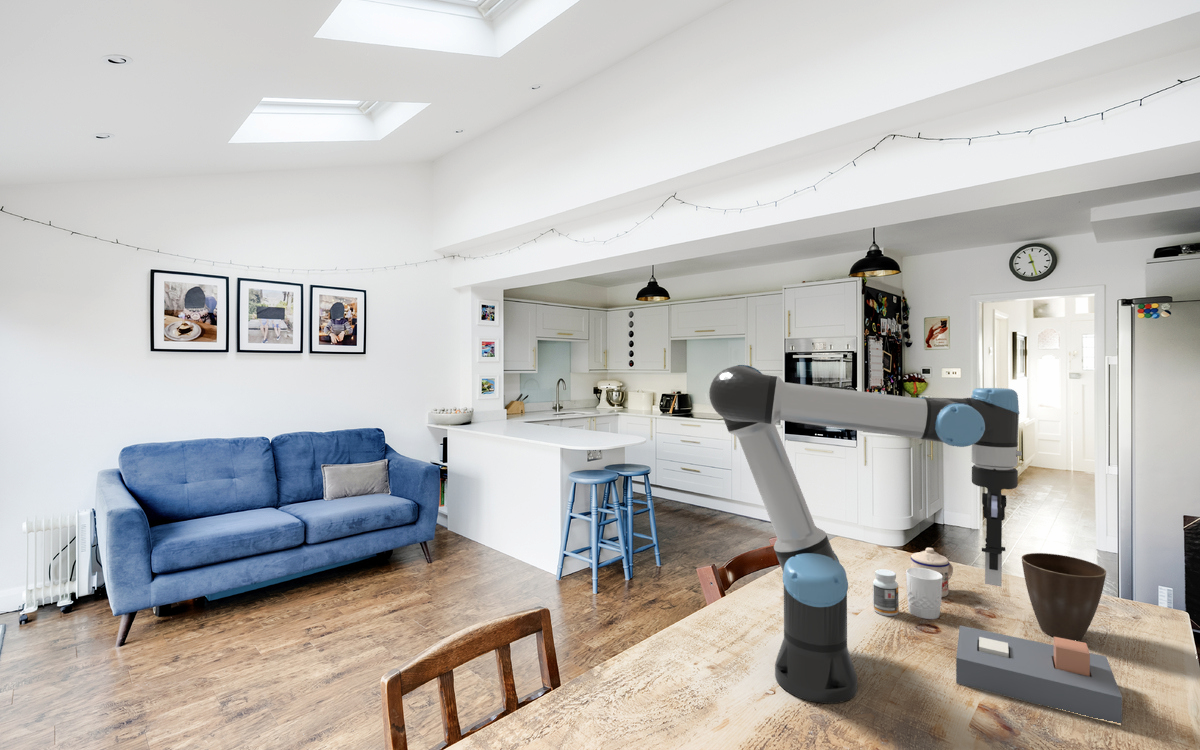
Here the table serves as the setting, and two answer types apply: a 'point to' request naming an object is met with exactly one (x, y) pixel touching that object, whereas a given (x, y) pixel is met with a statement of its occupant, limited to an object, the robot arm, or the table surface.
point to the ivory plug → (993, 647)
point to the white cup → (924, 592)
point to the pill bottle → (885, 593)
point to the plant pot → (1063, 592)
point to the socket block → (1037, 676)
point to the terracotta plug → (1071, 656)
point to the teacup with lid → (934, 565)
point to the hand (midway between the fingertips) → (993, 583)
